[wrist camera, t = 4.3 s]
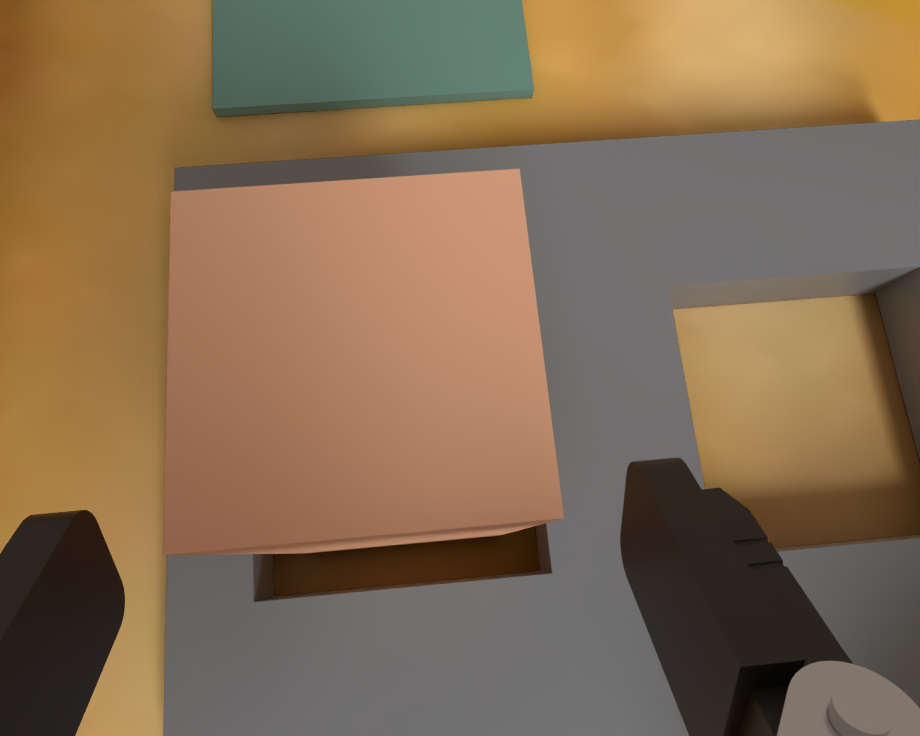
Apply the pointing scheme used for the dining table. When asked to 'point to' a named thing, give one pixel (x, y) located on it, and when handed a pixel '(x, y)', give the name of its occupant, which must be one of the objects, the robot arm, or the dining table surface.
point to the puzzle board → (582, 447)
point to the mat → (365, 54)
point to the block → (354, 367)
